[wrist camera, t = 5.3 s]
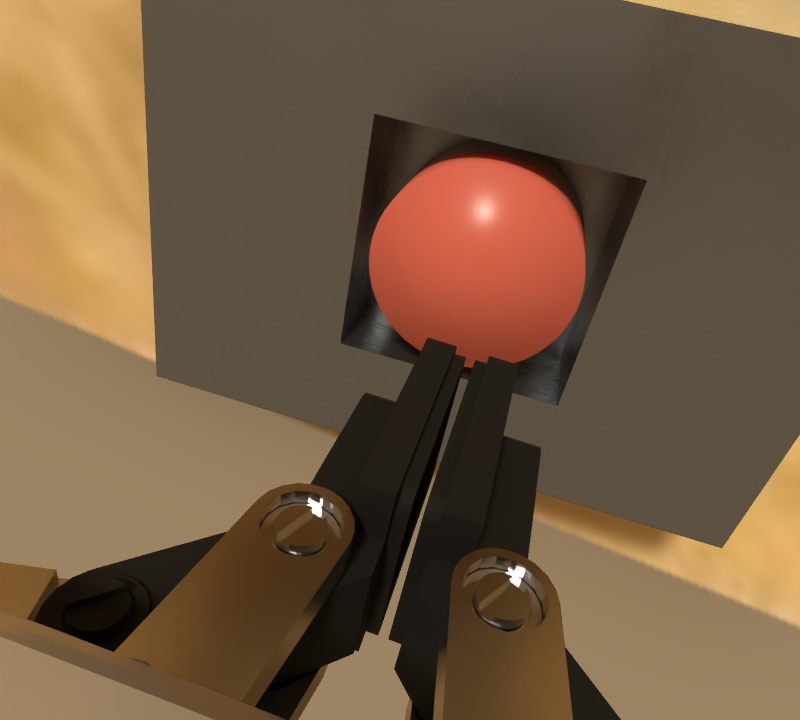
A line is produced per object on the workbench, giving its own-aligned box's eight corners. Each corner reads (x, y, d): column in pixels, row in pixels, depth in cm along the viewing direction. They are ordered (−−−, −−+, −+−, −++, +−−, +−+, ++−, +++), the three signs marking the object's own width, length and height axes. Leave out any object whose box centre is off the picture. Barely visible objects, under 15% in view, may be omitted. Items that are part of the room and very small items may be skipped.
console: (905, 61, 18) (1036, 87, 13) (692, 437, 25) (721, 548, 20) (248, -78, 20) (136, -103, 15) (234, 305, 27) (156, 375, 22)
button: (613, 168, 18) (620, 196, 15) (549, 344, 21) (546, 391, 19) (413, 119, 18) (387, 139, 16) (381, 297, 22) (355, 336, 19)
